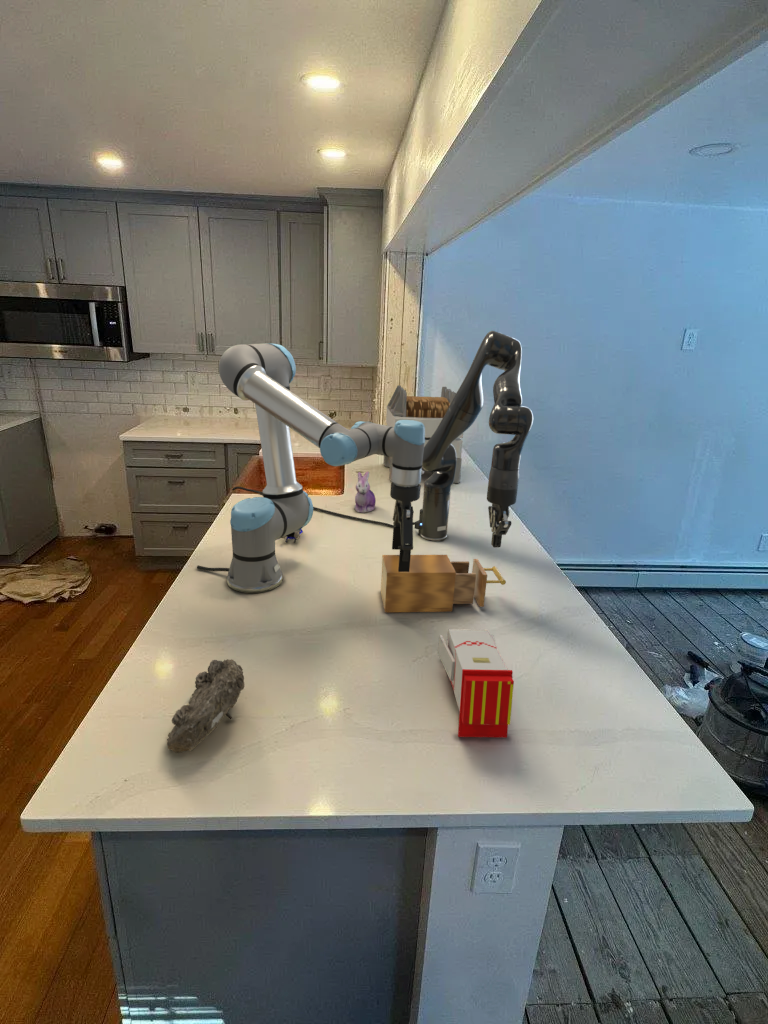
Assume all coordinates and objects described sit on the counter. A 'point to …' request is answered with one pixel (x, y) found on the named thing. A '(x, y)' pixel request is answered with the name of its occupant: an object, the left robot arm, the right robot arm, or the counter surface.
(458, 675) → the toy
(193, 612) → the counter surface
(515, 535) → the counter surface
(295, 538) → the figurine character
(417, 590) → the cabinet
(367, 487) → the figurine
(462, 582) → the drawer
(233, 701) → the fossil
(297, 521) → the left robot arm
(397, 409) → the grey boxy piece
